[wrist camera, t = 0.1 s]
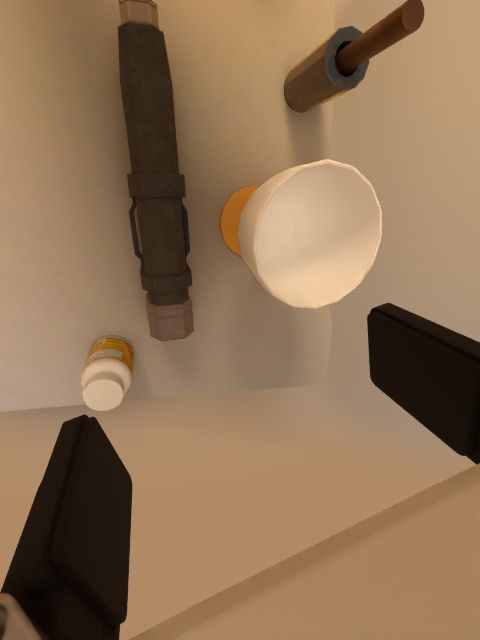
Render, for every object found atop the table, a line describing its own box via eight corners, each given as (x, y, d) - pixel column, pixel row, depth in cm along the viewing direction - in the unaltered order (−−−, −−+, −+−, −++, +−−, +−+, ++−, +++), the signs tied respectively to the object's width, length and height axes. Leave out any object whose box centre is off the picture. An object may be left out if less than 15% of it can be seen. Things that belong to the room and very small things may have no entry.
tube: (182, 56, 33) (203, 319, 41) (121, 58, 33) (154, 321, 41) (162, -26, 23) (195, 348, 31) (71, -24, 22) (128, 351, 31)
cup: (297, 173, 38) (395, 159, 23) (292, 264, 43) (372, 302, 28) (206, 173, 36) (251, 158, 20) (211, 271, 40) (252, 317, 25)
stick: (295, 80, 34) (402, -1, 20) (309, 77, 34) (425, -6, 20) (297, 99, 35) (402, 33, 21) (311, 96, 35) (424, 29, 21)
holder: (280, 69, 34) (322, 30, 26) (316, 62, 35) (368, 22, 27) (287, 116, 36) (328, 93, 28) (320, 108, 36) (370, 84, 28)
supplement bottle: (130, 372, 42) (126, 417, 34) (87, 368, 40) (72, 416, 32) (136, 337, 41) (134, 376, 32) (92, 332, 39) (77, 371, 30)
